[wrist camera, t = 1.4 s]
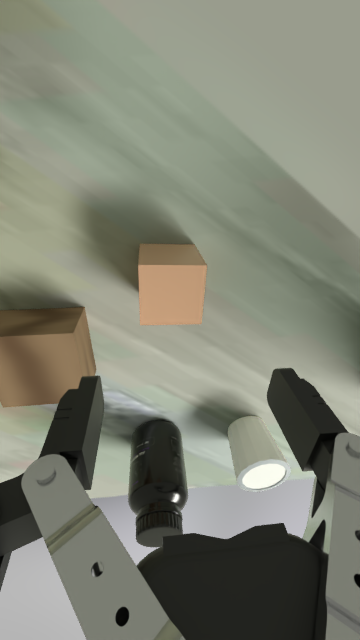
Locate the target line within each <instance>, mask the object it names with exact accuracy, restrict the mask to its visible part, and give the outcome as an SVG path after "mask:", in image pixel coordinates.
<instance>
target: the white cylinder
mask: <svg viewBox="0 0 360 640" xmlns="http://www.w3.org/2000/svg"><path fill="white" fill-rule="evenodd" d="M227 432H228V439H229V444H230V449H231V454H232V460H233V465H234V470H235V475H236V480H237V484H238V485H239V487H240V488H241V489H244V490H246V491H252V492H253V491H254V492H255V491H256V492H259V491H265V490H269V489H271V488H274V487H276V486H278V485H280V484H281V483H283V482H284V481H286V479H287V478H288V477H289V475H290V472H291V467H290V466H289V464H288V462H287V460H286V459H285V457H284V455H283V454H282V452H281V450H280V448H279V447H278V445H277V443H276V442H275V440H274V438H273V436H272V435H271V433H270V431H269V430H268V428H267V426H266V424H265V423H264V421H263V420H262V419H261V418H259V417H257V416H246V417H241V418H239V419H237V420H235V421H234V422H233V423H232V424H231V425H230V426H229V428H228V430H227Z"/></svg>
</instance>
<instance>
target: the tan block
mask: <svg viewBox="0 0 360 640" xmlns="http://www.w3.org/2000/svg"><path fill="white" fill-rule="evenodd" d="M206 272H207V264H206V263H205V261H204V259H203V258H202V256H201V254H200V253H199V251H198V249H197V248H196V246H195V244H140V248H139V261H138V274H139V303H140V325H174V324H201V323H202V313H203V303H204V292H205V282H206Z"/></svg>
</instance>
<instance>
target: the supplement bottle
mask: <svg viewBox="0 0 360 640" xmlns="http://www.w3.org/2000/svg"><path fill="white" fill-rule="evenodd" d="M187 499H188V489H187V480H186V472H185V463H184V454H183V446H182V438H181V433H180V431H179V429H178V428H177V427H176V426H175V425H174V424H172V423H170V422H167V421H162V420H155V421H150V422H147V423H144V424H142V425H141V426H139V427H138V428H137V429H136V430H135V432H134V433H133V436H132V445H131V460H130V476H129V493H128V502H129V506H130V508H131V510H132V511H133V512H134V513H135V514H136V515H137V517H136V540H137V542H138V543H139V544H141V545H143V546H146V547H162V546H163V537H164V536H173V535H182V534H183V530H182V513H181V512H180V511H181V510H182V509H183V508H184V506H185V504H186V502H187Z"/></svg>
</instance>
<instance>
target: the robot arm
mask: <svg viewBox="0 0 360 640" xmlns="http://www.w3.org/2000/svg"><path fill="white" fill-rule="evenodd" d="M267 400H268V404H269V407H270V408H271V410H272V412H273V414H274V416H275V418H276V420H277V422H278V424H279V426H280V428H281V430H282V432H283V434H284V436H285V438H286V440H287V442H288V444H289V446H290V448H291V450H292V452H293V454H294V455H295V457H296V459H297V461H298V463H299V465H300V467H301V469H302V471H314V473H315V475H316V477H315V480H314V485H313V491H312V498H311V503H310V510H309V516H308V522H307V526H306V529H305V532H304V535H303V538H302V539H301V538H300V537H298V536H295V535H292V534H288V533H287V531H286V528H285V525H284V523H279V524H270V525H261V526H255V527H252V528H250V529H248V530H246V531H244V532H242V533H240V534H238V535H236V536H234V537H232V538H229V539H220V538H215V537H210V536H205V535H200V534H195V533H190V534H182V535H173V536H164V537H163V546H162V547H160V548H158V549H156V550H154V551H153V552H151V553H150V554H148V555H147V556H146V557H145V558H144V559H142V560H141V561H140V562H139V564H138V565H137V566H136V565H135V563H134V562H133V560H132V558H131V557H130V555H129V554H128V552H127V551H126V549H125V547H124V546H123V544H122V542H121V541H120V539H119V538H118V536H117V534H116V533H115V531H114V530H113V528H112V526H111V525H110V523H109V522H108V520H107V518H106V517H105V515H104V514H103V512H102V511H101V509H100V508H99V507H98V506H95V505H94V504H93V503H92V501H91V499H90V498H89V496H88V495H87V493H86V491H85V490H91V486H92V480H93V474H94V468H95V462H96V456H97V450H98V444H99V437H100V431H101V425H102V419H103V413H104V400H103V392H102V385H101V378H100V376H82V377H81V380H80V383H79V387H78V389H69V390H68V391H67V392H66V393H65V394H64V395H63V396H62V397H61V399H60V401H59V404H58V407H57V411H56V412H55V415H54V418H53V421H52V423H51V426H50V429H49V432H48V435H47V437H46V440H45V443H44V446H43V448H42V451H41V454H40V456H39V458H38V459H37V460H36V461H34V462H33V463H32V464H31V465H30V466H29V467H28V468H27V470H26V471H25V472H24V473H23V474H21V475H19V476H18V477H15V478H13V479H10V480H8V481H5V482H2V483H0V590H1V586H2V583H3V580H4V577H5V573H6V570H7V566H8V563H9V559H10V556H11V553H12V551H14V550H16V549H18V548H20V547H22V546H24V545H26V544H29V543H31V542H33V541H35V540H37V539H39V538H41V537H43V538H44V541H45V543H46V545H47V548H48V550H49V553H50V555H51V558H52V560H53V562H54V564H55V567H56V569H57V571H58V574H59V576H60V578H61V581H62V583H63V585H64V587H65V590H66V592H67V595H68V597H69V599H70V601H71V604H72V606H73V609H74V611H75V613H76V616H77V618H78V620H79V623H80V625H81V627H82V630H83V632H84V634H85V637H86V639H87V640H360V437H359V436H357V435H354V434H351V433H348V431H347V430H346V429H345V427H344V426H343V425H342V423H341V422H340V421H339V419H338V418H337V417H336V415H335V414H334V413H333V411H332V410H331V409H330V407H329V406H328V405H326V402H325V401H324V400H323V398H322V397H320V394H319V393H318V392H317V390H316V389H315V388H314V386H312V385H311V384H310V383H309V382H307V381H306V380H305V379H300V378H299V377H298V375H297V374H296V373H295V371H294V370H293V369H292V368H282V369H274V371H273V374H272V377H271V381H270V384H269V388H268V392H267Z"/></svg>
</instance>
